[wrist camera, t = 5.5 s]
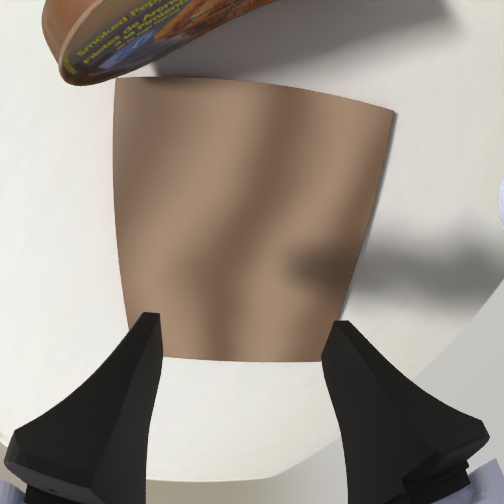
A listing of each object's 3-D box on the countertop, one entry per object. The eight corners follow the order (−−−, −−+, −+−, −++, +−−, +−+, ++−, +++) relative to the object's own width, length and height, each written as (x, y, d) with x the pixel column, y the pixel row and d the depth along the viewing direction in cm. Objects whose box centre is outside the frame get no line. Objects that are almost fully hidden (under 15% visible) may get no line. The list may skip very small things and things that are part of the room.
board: (388, 110, 14) (393, 111, 14) (319, 355, 23) (320, 361, 22) (119, 78, 12) (115, 78, 12) (135, 347, 21) (133, 353, 20)
